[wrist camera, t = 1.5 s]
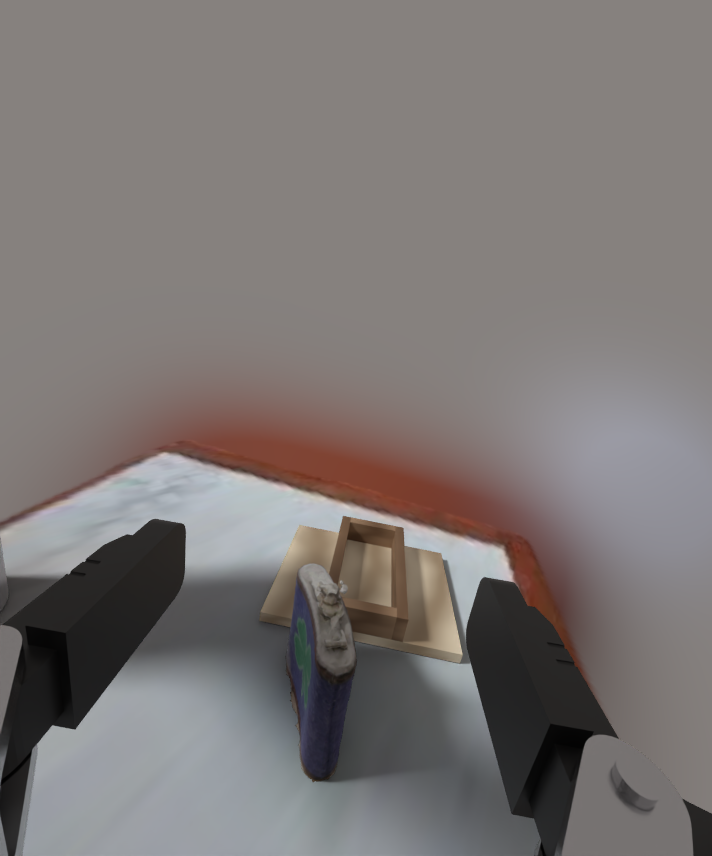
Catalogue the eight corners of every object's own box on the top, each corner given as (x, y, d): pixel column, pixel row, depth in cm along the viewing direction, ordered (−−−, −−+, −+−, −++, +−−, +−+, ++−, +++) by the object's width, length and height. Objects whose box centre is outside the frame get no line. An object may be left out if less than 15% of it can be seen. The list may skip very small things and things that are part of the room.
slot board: (259, 620, 32) (262, 589, 31) (298, 531, 45) (301, 507, 44) (459, 663, 31) (470, 632, 30) (439, 560, 44) (445, 536, 43)
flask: (282, 651, 29) (297, 542, 26) (316, 645, 30) (335, 539, 27) (301, 790, 21) (327, 656, 18) (348, 776, 22) (380, 647, 19)
